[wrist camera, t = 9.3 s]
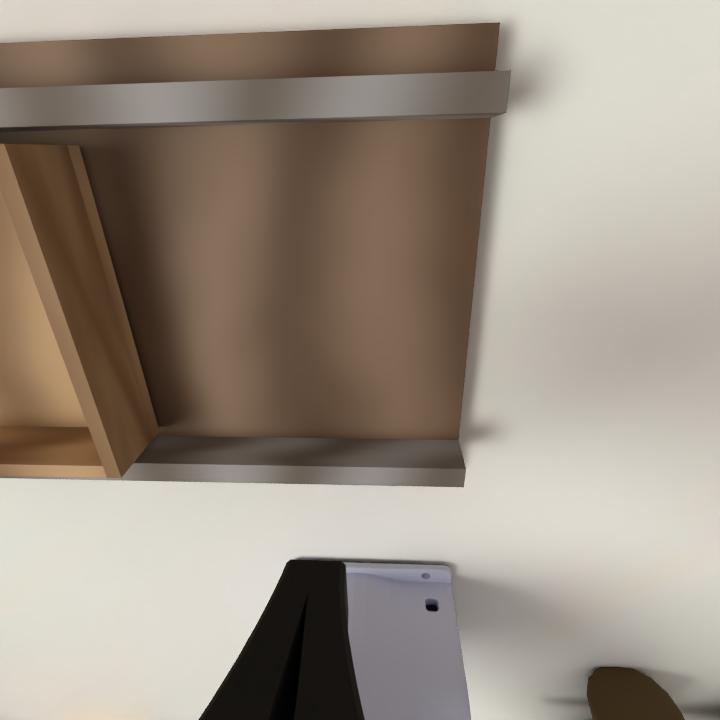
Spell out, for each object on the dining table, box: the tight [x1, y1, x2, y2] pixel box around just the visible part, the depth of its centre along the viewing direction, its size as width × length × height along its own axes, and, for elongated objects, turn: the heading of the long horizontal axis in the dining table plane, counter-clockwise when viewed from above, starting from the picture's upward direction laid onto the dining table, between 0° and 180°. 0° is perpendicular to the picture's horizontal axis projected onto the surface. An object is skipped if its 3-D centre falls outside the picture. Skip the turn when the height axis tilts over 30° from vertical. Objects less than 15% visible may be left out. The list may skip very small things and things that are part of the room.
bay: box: [0, 23, 511, 487], centre depth 16 cm, size 26×18×6 cm
